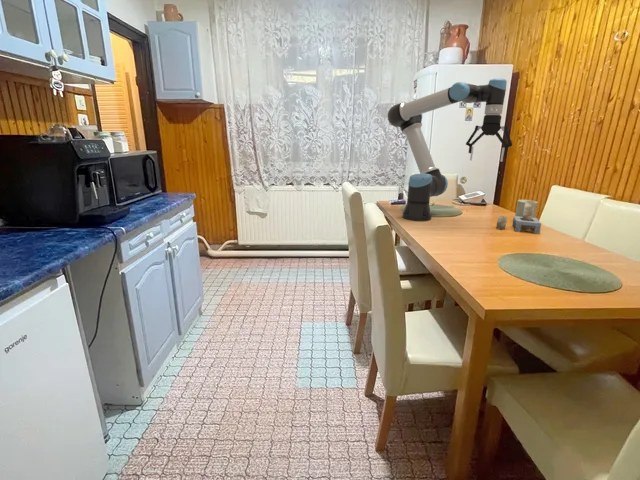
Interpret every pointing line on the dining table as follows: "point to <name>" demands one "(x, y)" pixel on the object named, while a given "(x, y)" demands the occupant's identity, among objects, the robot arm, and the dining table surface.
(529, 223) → the square frame with posts
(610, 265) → the dining table surface
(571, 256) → the dining table surface
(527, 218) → the long dowel
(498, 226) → the short dowel
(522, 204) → the can
